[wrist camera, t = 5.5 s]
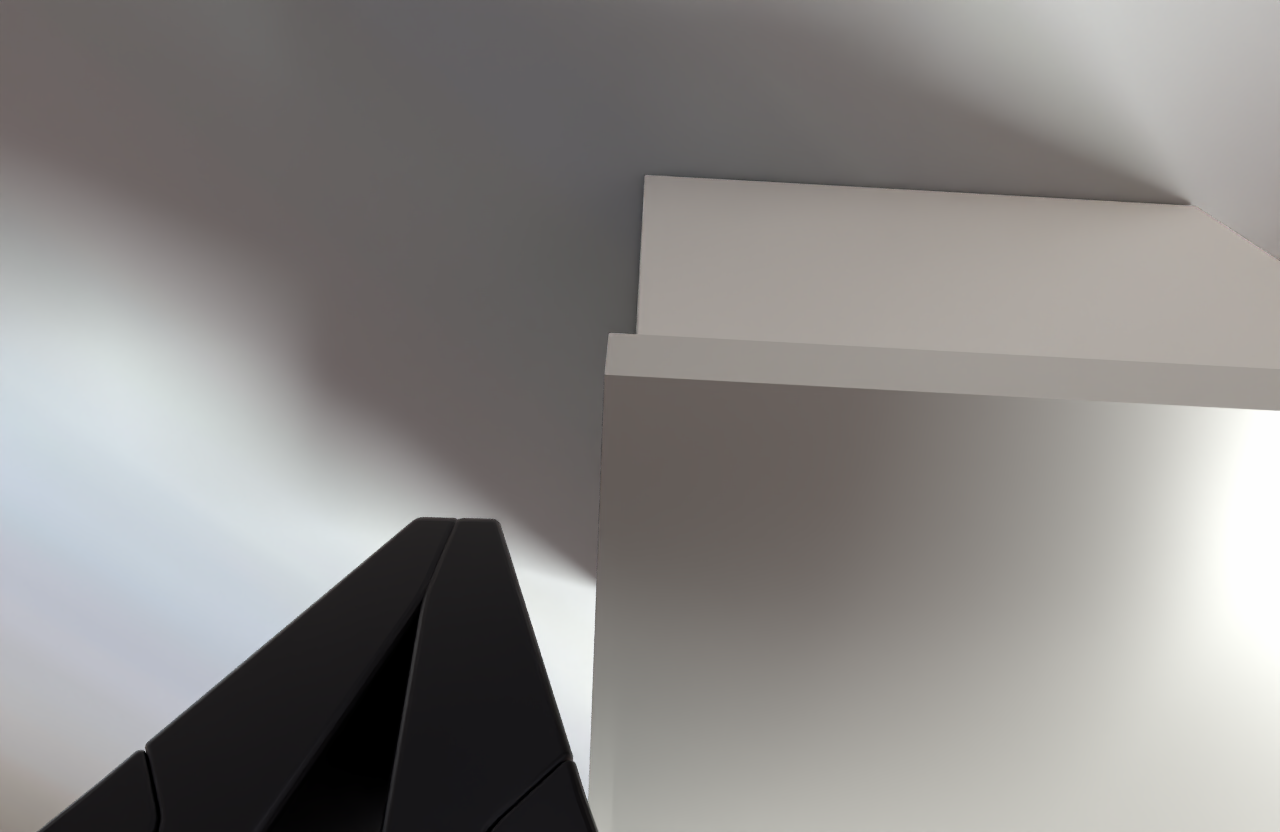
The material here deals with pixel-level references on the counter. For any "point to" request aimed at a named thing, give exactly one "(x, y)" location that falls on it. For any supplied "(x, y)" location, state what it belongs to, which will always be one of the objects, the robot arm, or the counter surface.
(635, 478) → the base block
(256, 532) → the counter surface
